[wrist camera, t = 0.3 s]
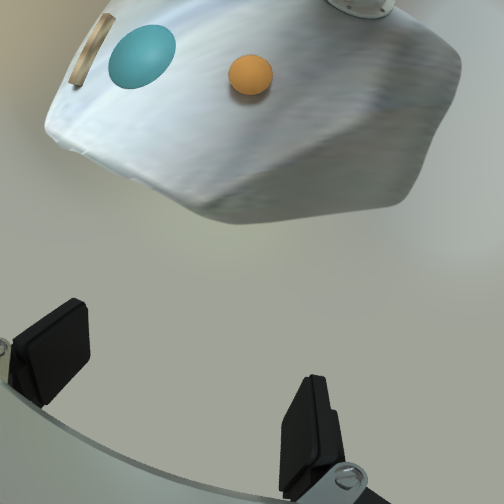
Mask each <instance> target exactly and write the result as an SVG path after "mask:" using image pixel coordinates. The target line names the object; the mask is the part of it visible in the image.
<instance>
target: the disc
mask: <svg viewBox="0 0 504 504" xmlns="http://www.w3.org/2000/svg"><path fill="white" fill-rule="evenodd" d="M175 48H176V43H175V38H174V36H173V34H172V33H171V32H170V31H169V30H168V29H167V28H165V27H163V26H160V25H147V26H143V27H140V28H137V29H135V30H133V31H132V32H130V33H129V34H127V35H126V36H125V37H124V38H123V39H122V40H120V42H119V43H118V44H117V45H116V47H115V48H114V50H113V52H112V54H111V57H110V60H109V66H108V69H109V75H110V77H111V79H112V81H113V82H114V83H115V84H116V85H118V86H120V87H123V88H128V89H133V88H138V87H142V86H144V85H147V84H149V83H150V82H152V81H154V80H155V79H156V78H158V77H159V76H160V75H161V74H162V73H163V72H164V71H165V70H166V69H167V67H168V66H169V64H170V63H171V61H172V59H173V56H174V53H175Z"/></svg>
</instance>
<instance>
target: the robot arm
mask: <svg viewBox="0 0 504 504" xmlns="http://www.w3.org/2000/svg"><path fill="white" fill-rule="evenodd" d="M327 1H328V2H329V3H331V4H332V5H333V6H334V7H336V8H338V9H340V10H341V11H343V12H346V13H348V14H351V15H354V16H357V17H362V18H370V19H373V18H380V17H384V16H386V15H388V14H389V13H390V12H391V11H392V9H393V8H394V5H395V0H327ZM88 324H89V323H88V308H87V307H86V304H85V303H84V302H83V301H80V300H78V299H76V298H71V299H70V300H68V301H67V302H65V303H64V304H63V305H61V306H59V307H58V308H57V309H55V310H54V311H52V312H51V313H49V314H48V315H46V316H45V317H43V318H42V319H40V320H39V321H38V322H36V323H35V324H33V325H32V326H30V327H29V328H28V329H26V330H25V331H23V332H22V333H21V334H19V335H18V336H17V337H15V338H14V339H13V344H12V345H10V343H9V342H8V341H7V340H6V339H4V338H0V504H391V503H389V502H388V501H386V500H385V499H383V498H382V497H380V496H379V495H377V494H376V493H375V492H373V491H372V490H370V489H369V488H368V487H366V486H367V483H368V477H367V474H366V472H365V471H364V469H362V468H361V467H360V466H358V465H356V464H354V463H351V462H346V461H345V455H344V448H343V442H342V436H341V431H340V425H339V420H338V414H337V411H336V410H332V409H331V407H330V401H329V395H328V390H327V384H326V379H325V377H324V376H318V375H313V374H311V375H310V376H309V377H305V378H304V379H303V381H302V383H301V385H300V388H299V389H298V391H297V393H296V395H295V397H294V399H293V401H292V403H291V405H290V407H289V409H288V411H287V413H286V415H285V417H284V419H283V421H282V426H281V452H280V454H281V455H280V474H279V491H281V492H283V499H284V498H285V499H291V500H290V501H286V500H280V499H274V498H268V497H263V496H257V495H251V494H246V493H240V492H236V491H232V490H227V489H223V488H219V487H214V486H211V485H207V484H203V483H199V482H196V481H192V480H189V479H186V478H182V477H179V476H176V475H173V474H170V473H167V472H164V471H162V470H159V469H156V468H153V467H151V466H148V465H146V464H143V463H141V462H138V461H136V460H133V459H131V458H129V457H126V456H124V455H122V454H120V453H118V452H115V451H113V450H111V449H109V448H107V447H105V446H103V445H101V444H99V443H97V442H95V441H93V440H91V439H90V438H88V437H86V436H84V435H82V434H80V433H79V432H77V431H75V430H74V429H72V428H70V427H68V426H66V425H65V424H63V423H62V422H60V421H59V420H57V419H55V418H54V417H52V416H51V415H49V414H48V413H46V412H45V411H43V410H42V409H41V408H42V407H43V406H44V405H48V404H49V403H50V402H51V401H52V400H53V399H54V397H56V395H57V394H58V393H59V392H60V391H61V390H62V389H63V388H64V387H65V386H66V384H68V382H69V381H70V380H71V379H72V378H73V377H74V376H75V375H76V374H77V373H78V372H79V371H80V370H81V369H82V368H83V366H84V365H85V364H86V363H87V362H88V361H89V359H90V341H89V325H88ZM31 401H32V402H31Z"/></svg>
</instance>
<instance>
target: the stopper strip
mask: <svg viewBox="0 0 504 504" xmlns="http://www.w3.org/2000/svg"><path fill="white" fill-rule="evenodd" d="M115 19H116V18H115V17H113V16H112V15H111V14H109V13H103V15H102V16H101V18H100V20H99V21H98V23H97V25H96V26H95V28H94V30H93V32H92V34H91V35H90V37H89V39H88V41H87V43H86V45H85V47H84V49H83V51H82V53H81V55H80V57H79V59H78V61H77V63H76V65H75V68H74V70H73V72H72V74H71V77H70V79H69V81H68V83H71V84H74V85H77V86H82V85H83V82H84V80H85V78H86V75H87V73H88V71H89V69H90V67H91V65H92V62H93V60H94V58H95V56H96V54H97V52H98V50H99V48H100V46H101V44H102V42H103V41H104V39H105V37H106V35H107V33H108V31H109V30H110V28H111V26H112V24H113V23H114V21H115Z"/></svg>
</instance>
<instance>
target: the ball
mask: <svg viewBox="0 0 504 504" xmlns="http://www.w3.org/2000/svg"><path fill="white" fill-rule="evenodd" d="M272 77H273V72H272V68H271V66H270V65H269V63H268V62H267V61H266V60H265V59H263V58H261V57H259V56H256V55H246V56H242V57H240V58H238V59H237V60H235V61H234V62H233V64H232V65H231V67H230V69H229V81H230V83H231V85H232V86H233V87H234V89H236V90H237V91H238V92H240V93H243V94H247V95H255V94H258V93H261V92H263V91H264V90H266V89H267V88H268V87H269V85H270V83H271V81H272Z"/></svg>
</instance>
